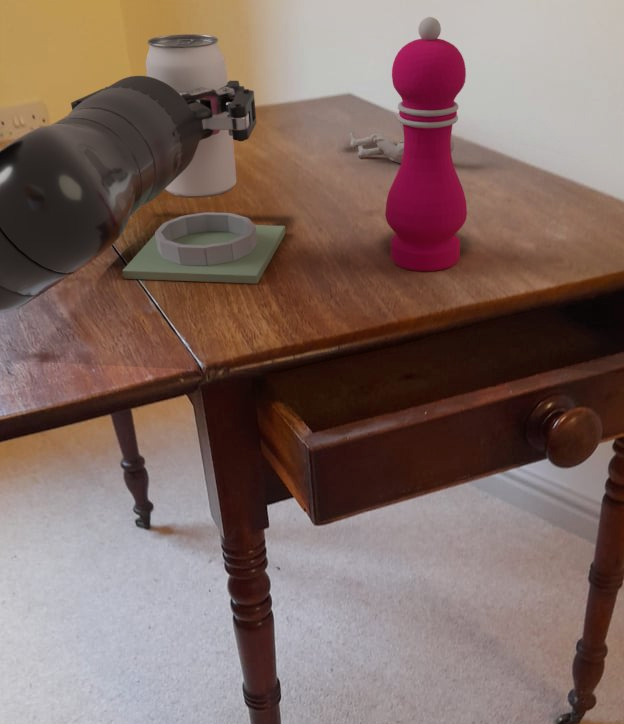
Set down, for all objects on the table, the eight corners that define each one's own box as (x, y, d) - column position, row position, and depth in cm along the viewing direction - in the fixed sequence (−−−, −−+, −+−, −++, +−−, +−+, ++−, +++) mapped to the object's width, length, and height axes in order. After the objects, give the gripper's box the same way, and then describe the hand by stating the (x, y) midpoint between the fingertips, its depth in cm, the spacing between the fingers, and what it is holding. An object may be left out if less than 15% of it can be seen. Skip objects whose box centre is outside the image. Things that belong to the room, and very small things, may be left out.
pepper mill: (392, 241, 83) (392, 9, 72) (468, 245, 82) (479, 10, 71) (379, 271, 77) (376, 23, 66) (460, 276, 76) (471, 25, 65)
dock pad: (123, 279, 76) (118, 252, 75) (166, 229, 86) (162, 204, 85) (257, 284, 75) (254, 256, 74) (285, 233, 85) (283, 208, 84)
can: (156, 199, 74) (134, 46, 68) (169, 177, 80) (150, 33, 73) (232, 199, 74) (218, 46, 68) (240, 176, 80) (228, 33, 73)
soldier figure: (369, 157, 109) (460, 131, 105) (371, 192, 108) (464, 167, 103) (342, 123, 102) (439, 94, 98) (344, 160, 101) (442, 132, 96)
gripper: (222, 89, 58) (275, 46, 72) (16, 86, 60) (108, 44, 73) (233, 200, 62) (282, 139, 76) (41, 195, 64) (123, 135, 78)
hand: (196, 92), depth 75 cm, fingers closed on can, 6 cm apart
